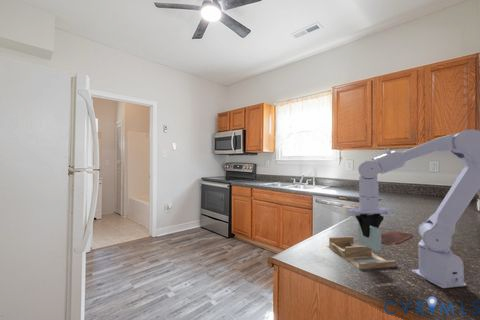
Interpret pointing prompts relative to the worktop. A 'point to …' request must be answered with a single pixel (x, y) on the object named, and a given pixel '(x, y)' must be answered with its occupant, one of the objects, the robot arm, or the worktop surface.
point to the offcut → (353, 244)
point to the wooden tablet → (394, 237)
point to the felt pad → (366, 260)
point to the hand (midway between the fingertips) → (369, 236)
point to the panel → (371, 238)
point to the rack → (357, 253)
